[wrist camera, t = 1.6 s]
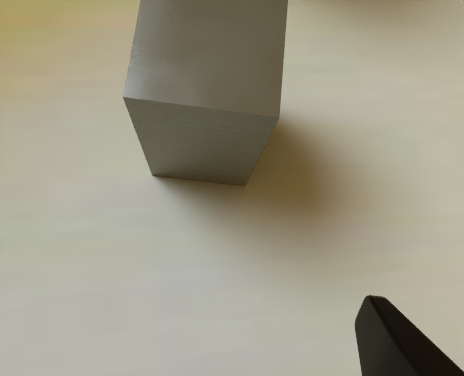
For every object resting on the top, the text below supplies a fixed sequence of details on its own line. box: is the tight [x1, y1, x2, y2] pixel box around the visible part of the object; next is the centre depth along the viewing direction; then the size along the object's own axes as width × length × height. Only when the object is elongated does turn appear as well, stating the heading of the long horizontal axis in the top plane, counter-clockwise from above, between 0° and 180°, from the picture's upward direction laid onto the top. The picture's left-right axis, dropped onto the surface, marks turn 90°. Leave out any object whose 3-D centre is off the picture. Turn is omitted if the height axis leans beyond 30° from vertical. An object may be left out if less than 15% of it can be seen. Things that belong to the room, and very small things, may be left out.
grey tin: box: [123, 0, 288, 186], centre depth 20 cm, size 6×6×10 cm
